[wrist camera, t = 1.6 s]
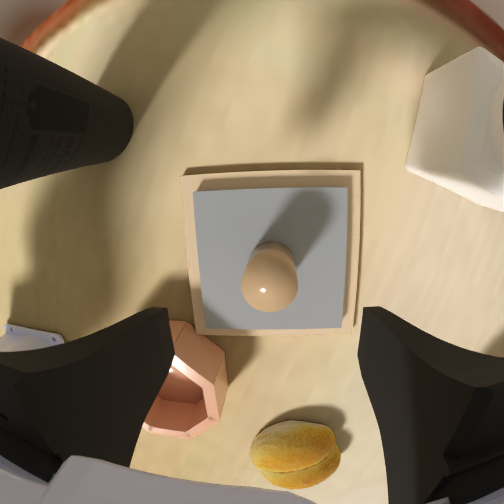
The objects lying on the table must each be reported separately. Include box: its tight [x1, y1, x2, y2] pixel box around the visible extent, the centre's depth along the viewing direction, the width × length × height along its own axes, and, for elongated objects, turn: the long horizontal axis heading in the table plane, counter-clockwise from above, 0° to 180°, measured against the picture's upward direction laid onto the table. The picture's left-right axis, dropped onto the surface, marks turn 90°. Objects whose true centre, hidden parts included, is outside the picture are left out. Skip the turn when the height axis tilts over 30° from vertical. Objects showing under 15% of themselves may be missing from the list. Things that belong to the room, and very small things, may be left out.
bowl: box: [142, 320, 228, 439], centre depth 21 cm, size 9×9×4 cm
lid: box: [193, 187, 347, 329], centre depth 17 cm, size 9×9×4 cm
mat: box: [180, 170, 360, 336], centre depth 20 cm, size 11×11×1 cm
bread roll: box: [250, 420, 341, 489], centre depth 23 cm, size 8×9×4 cm
